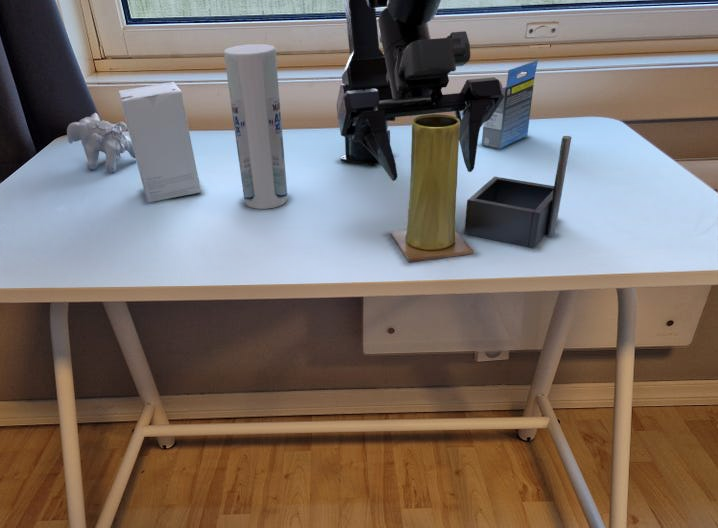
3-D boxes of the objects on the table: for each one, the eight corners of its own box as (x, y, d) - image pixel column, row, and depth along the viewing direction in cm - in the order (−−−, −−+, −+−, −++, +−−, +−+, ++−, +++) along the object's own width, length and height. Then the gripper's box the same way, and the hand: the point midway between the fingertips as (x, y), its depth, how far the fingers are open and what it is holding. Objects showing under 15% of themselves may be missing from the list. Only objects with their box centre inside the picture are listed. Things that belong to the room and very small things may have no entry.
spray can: (244, 193, 94) (224, 45, 82) (288, 190, 94) (274, 42, 83) (243, 211, 89) (222, 55, 77) (289, 207, 89) (275, 52, 78)
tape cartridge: (508, 132, 113) (517, 57, 105) (528, 136, 110) (538, 59, 103) (480, 145, 108) (487, 67, 100) (500, 150, 105) (509, 70, 98)
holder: (464, 233, 80) (472, 137, 73) (490, 208, 86) (500, 117, 79) (542, 250, 75) (559, 149, 68) (564, 222, 82) (582, 126, 74)
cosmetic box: (195, 181, 99) (177, 80, 90) (202, 194, 95) (184, 89, 86) (140, 190, 97) (117, 87, 88) (145, 204, 92) (120, 97, 84)
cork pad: (390, 234, 81) (390, 231, 81) (450, 226, 82) (450, 223, 82) (408, 262, 74) (409, 259, 74) (473, 253, 76) (473, 250, 75)
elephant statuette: (126, 174, 103) (114, 126, 99) (56, 175, 104) (41, 127, 100) (145, 155, 111) (135, 109, 106) (79, 156, 112) (66, 111, 107)
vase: (409, 228, 81) (412, 112, 73) (457, 231, 80) (467, 113, 71) (401, 249, 76) (404, 127, 68) (452, 253, 75) (462, 129, 67)
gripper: (339, 10, 66) (366, 149, 64) (507, -3, 69) (538, 130, 67) (328, 75, 77) (351, 195, 75) (474, 61, 80) (499, 177, 78)
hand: (433, 174), depth 73 cm, fingers open, 9 cm apart
